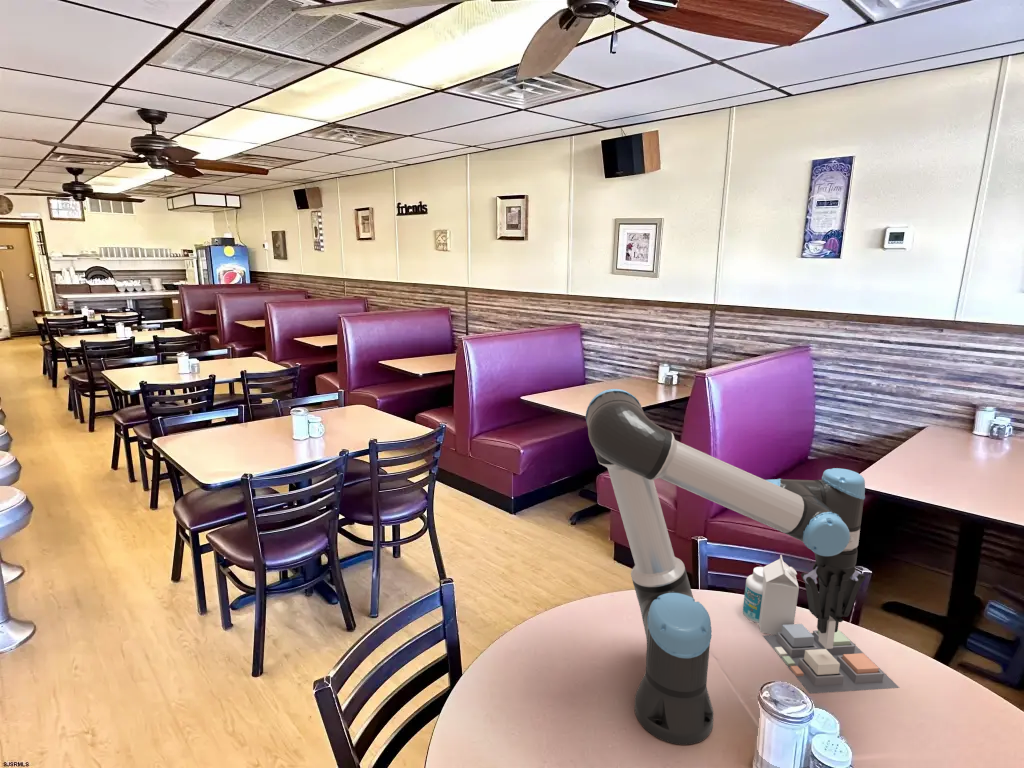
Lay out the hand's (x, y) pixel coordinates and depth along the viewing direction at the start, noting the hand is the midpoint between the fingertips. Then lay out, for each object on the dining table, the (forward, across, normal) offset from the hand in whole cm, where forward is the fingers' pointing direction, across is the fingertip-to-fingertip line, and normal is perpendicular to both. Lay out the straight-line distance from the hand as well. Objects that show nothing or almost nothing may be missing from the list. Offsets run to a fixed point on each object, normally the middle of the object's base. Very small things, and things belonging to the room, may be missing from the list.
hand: (825, 644), depth 121 cm
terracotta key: (+7, +9, 0) cm, 11 cm away
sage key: (+7, +9, +9) cm, 14 cm away
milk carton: (+9, -1, +17) cm, 20 cm away
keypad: (+9, +4, +5) cm, 11 cm away
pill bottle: (+9, -3, +22) cm, 24 cm away
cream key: (+5, 0, 0) cm, 5 cm away
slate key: (+5, 0, +9) cm, 11 cm away
